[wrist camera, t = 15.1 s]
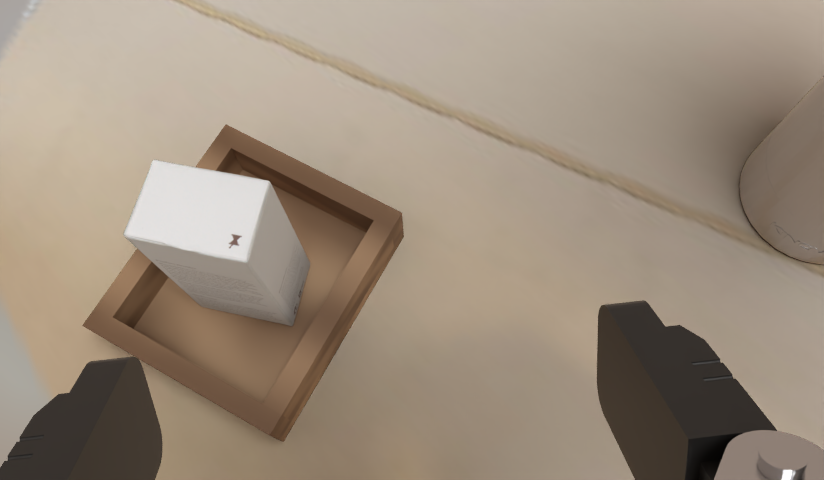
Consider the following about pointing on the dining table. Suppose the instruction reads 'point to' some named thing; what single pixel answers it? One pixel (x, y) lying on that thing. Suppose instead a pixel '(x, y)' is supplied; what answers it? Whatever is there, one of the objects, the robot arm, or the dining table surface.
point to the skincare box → (221, 240)
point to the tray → (249, 337)
